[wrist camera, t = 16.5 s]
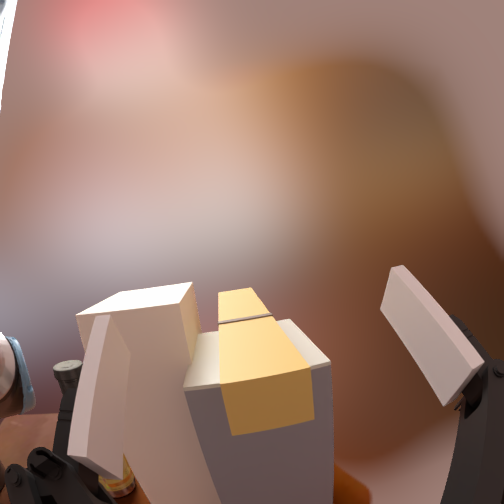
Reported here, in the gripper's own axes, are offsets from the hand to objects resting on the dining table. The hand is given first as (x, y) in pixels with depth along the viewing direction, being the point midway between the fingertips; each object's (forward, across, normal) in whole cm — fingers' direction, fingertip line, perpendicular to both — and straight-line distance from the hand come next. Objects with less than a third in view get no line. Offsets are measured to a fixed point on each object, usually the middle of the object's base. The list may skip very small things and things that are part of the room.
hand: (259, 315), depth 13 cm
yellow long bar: (+7, 0, -10) cm, 12 cm away
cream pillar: (-1, -9, -31) cm, 33 cm away
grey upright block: (-4, 0, -29) cm, 30 cm away
